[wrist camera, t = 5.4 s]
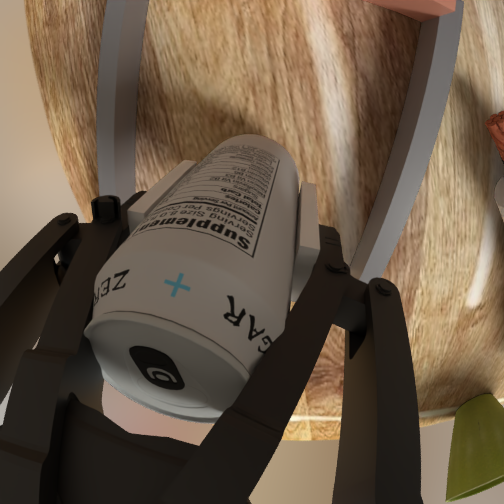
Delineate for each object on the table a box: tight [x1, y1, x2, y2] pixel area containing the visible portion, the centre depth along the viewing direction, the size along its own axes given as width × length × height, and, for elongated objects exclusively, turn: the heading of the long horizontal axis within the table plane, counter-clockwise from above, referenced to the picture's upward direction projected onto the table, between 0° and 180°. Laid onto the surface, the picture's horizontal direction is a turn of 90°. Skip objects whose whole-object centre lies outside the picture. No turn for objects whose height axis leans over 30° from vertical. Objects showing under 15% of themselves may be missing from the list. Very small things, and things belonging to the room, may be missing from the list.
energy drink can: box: [84, 134, 299, 424], centre depth 13 cm, size 6×6×15 cm
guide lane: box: [96, 0, 464, 284], centre depth 16 cm, size 22×21×5 cm
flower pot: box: [446, 394, 504, 502], centre depth 28 cm, size 15×15×16 cm
